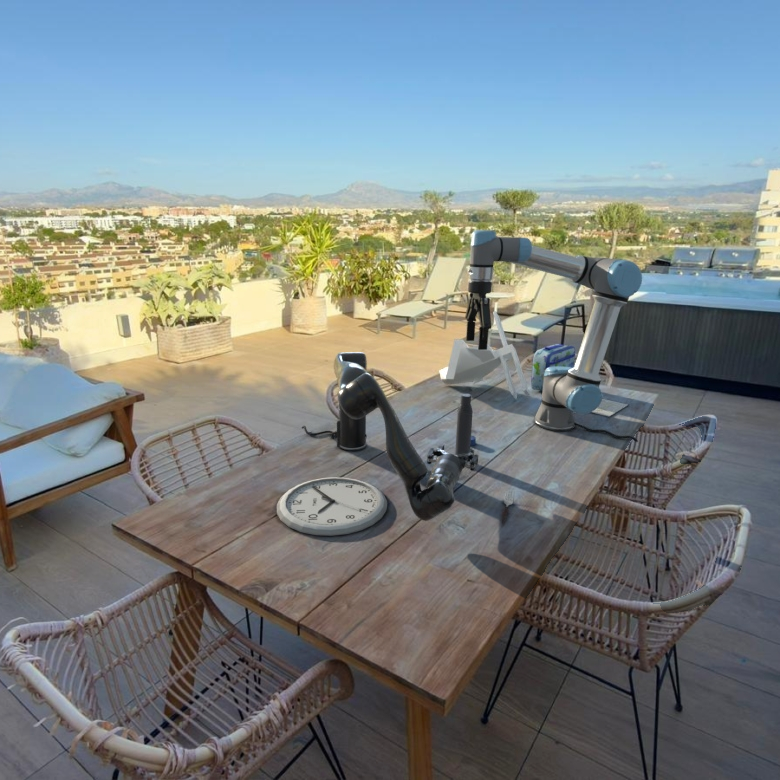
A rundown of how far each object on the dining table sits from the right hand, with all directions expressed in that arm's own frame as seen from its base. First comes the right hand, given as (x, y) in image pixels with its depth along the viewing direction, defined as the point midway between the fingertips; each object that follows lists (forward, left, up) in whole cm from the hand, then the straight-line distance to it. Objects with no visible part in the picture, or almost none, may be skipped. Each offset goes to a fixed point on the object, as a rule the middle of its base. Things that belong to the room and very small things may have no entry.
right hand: (476, 345), depth 175 cm
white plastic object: (-6, -62, -36) cm, 72 cm away
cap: (0, 0, -34) cm, 34 cm away
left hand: (+5, +27, -26) cm, 38 cm away
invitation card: (-58, -50, -36) cm, 84 cm away
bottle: (+3, +16, -36) cm, 39 cm away
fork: (-9, +45, -36) cm, 58 cm away
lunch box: (-41, -74, -36) cm, 91 cm away
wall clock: (+38, +49, -36) cm, 72 cm away
